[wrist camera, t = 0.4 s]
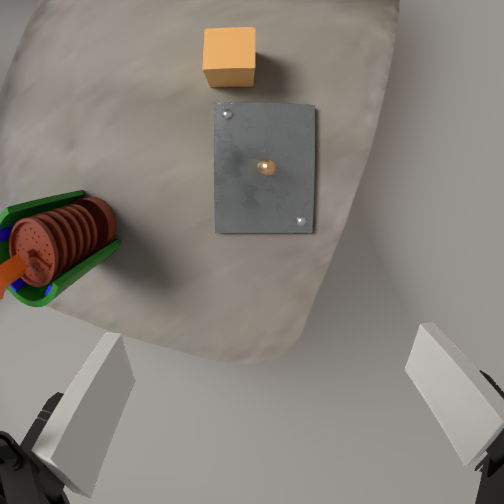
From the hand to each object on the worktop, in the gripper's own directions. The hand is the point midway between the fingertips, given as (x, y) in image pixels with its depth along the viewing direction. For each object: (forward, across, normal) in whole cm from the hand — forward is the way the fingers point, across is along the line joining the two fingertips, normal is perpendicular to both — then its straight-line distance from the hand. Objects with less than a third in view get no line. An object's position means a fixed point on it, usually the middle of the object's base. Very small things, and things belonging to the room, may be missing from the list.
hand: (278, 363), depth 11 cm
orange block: (+26, -3, +20) cm, 33 cm away
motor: (+26, -23, 0) cm, 34 cm away
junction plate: (+26, +1, +7) cm, 27 cm away
